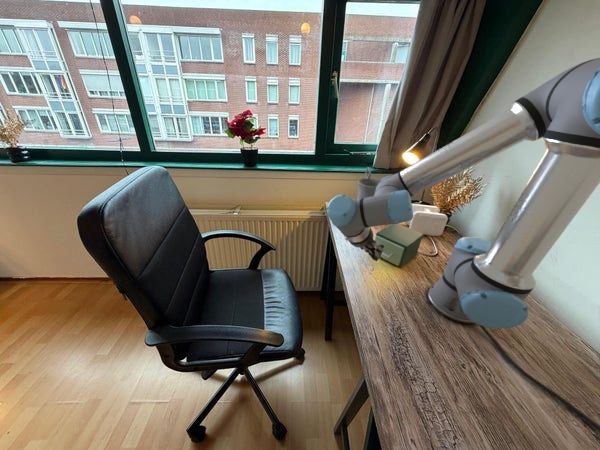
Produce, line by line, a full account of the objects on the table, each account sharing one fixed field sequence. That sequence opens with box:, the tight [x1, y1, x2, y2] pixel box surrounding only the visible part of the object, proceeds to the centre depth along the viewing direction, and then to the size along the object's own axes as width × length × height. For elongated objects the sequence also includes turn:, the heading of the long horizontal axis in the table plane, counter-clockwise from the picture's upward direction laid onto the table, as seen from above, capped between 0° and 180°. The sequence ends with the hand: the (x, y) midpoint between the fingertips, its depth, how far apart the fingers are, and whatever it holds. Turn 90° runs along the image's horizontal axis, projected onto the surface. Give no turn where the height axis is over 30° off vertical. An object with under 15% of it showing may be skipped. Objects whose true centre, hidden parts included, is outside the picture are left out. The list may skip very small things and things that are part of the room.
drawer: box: [374, 235, 405, 267], centre depth 97 cm, size 18×11×8 cm, turn 133°
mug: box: [356, 167, 381, 199], centre depth 126 cm, size 19×15×25 cm
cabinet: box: [375, 223, 425, 268], centre depth 100 cm, size 15×13×10 cm
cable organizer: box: [405, 203, 449, 237], centre depth 118 cm, size 15×11×12 cm
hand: (376, 257), depth 89 cm, fingers closed
